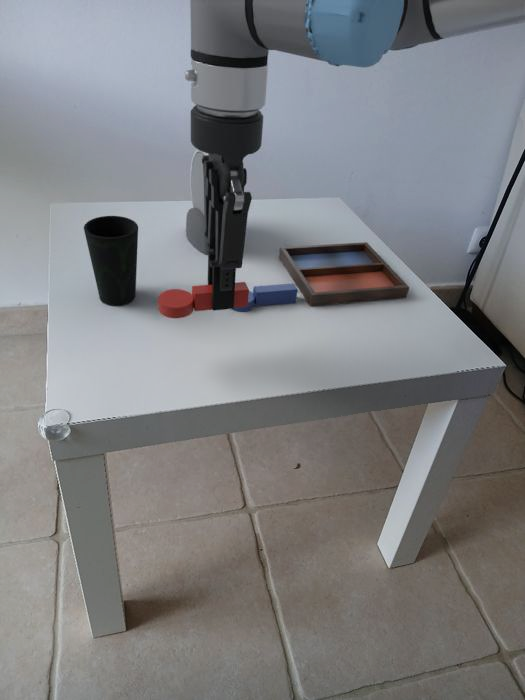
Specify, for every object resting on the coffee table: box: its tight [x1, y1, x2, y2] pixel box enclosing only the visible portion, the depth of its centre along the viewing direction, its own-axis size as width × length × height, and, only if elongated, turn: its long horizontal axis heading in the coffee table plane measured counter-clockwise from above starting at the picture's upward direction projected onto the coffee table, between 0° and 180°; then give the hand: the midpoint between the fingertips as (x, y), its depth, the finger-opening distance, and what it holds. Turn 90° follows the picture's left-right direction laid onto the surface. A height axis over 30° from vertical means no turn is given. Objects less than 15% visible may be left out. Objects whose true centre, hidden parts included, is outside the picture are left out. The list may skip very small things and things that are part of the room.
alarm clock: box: [185, 148, 211, 256], centre depth 98 cm, size 16×10×18 cm, turn 23°
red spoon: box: [157, 281, 250, 319], centre depth 67 cm, size 11×4×3 cm, turn 106°
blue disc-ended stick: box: [232, 282, 299, 312], centre depth 86 cm, size 11×4×3 cm, turn 106°
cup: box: [83, 215, 139, 307], centre depth 80 cm, size 8×8×12 cm
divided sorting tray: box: [278, 241, 410, 307], centre depth 95 cm, size 18×17×2 cm
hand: (220, 302), depth 68 cm, fingers closed on red spoon, 2 cm apart
